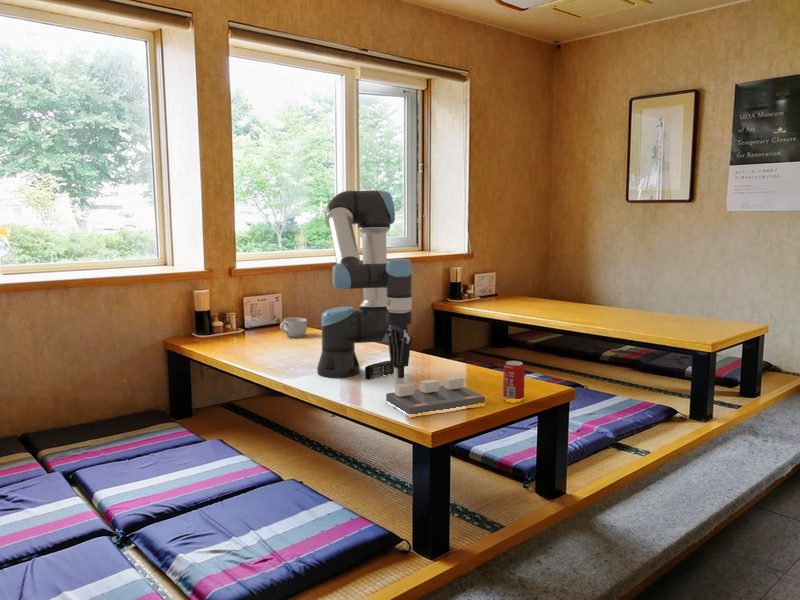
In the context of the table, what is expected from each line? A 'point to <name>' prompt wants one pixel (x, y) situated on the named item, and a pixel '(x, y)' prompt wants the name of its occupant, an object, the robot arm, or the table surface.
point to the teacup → (294, 326)
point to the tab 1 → (404, 389)
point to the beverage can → (513, 380)
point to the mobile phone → (379, 369)
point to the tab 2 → (429, 386)
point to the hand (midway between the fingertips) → (399, 387)
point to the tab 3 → (453, 382)
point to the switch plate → (435, 400)
